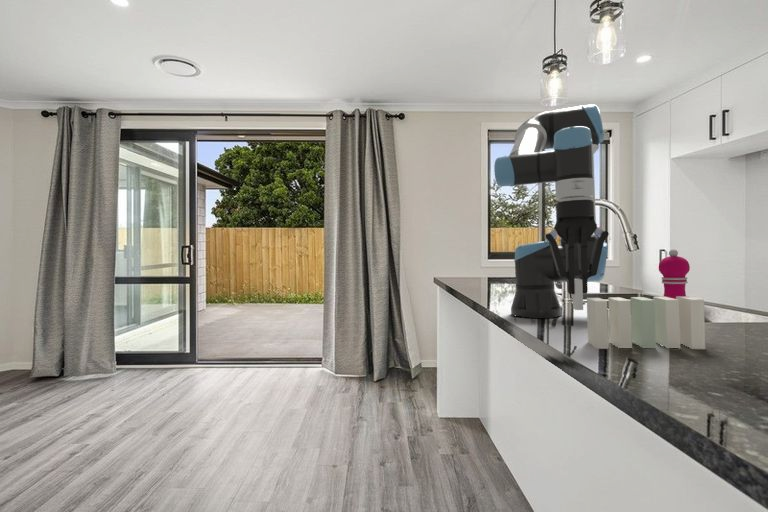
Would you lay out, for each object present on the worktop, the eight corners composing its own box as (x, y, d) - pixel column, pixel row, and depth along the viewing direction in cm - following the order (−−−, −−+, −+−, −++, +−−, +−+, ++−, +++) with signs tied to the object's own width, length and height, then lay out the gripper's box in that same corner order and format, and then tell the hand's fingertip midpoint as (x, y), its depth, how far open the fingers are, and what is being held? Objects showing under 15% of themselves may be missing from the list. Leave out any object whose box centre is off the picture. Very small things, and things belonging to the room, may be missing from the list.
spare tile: (632, 342, 94) (630, 297, 94) (644, 342, 94) (642, 296, 93) (643, 348, 88) (641, 300, 88) (656, 348, 88) (654, 300, 88)
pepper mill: (701, 338, 95) (698, 248, 95) (665, 338, 97) (662, 250, 97) (685, 332, 102) (683, 248, 102) (652, 332, 104) (649, 249, 104)
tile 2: (609, 342, 95) (608, 297, 95) (621, 342, 94) (620, 297, 94) (619, 348, 89) (617, 300, 89) (632, 348, 88) (630, 300, 88)
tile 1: (588, 342, 96) (586, 297, 96) (599, 342, 95) (598, 297, 95) (596, 348, 90) (594, 301, 90) (608, 348, 89) (607, 300, 89)
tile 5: (677, 342, 92) (676, 296, 92) (689, 342, 92) (688, 296, 92) (692, 349, 86) (690, 299, 86) (705, 349, 86) (703, 299, 86)
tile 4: (654, 342, 93) (653, 296, 93) (666, 342, 93) (665, 296, 93) (667, 349, 87) (665, 300, 87) (680, 349, 87) (678, 299, 87)
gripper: (545, 200, 91) (549, 311, 91) (612, 196, 88) (616, 311, 88) (540, 204, 98) (543, 307, 98) (601, 200, 95) (605, 306, 96)
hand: (578, 308), depth 93 cm, fingers closed
